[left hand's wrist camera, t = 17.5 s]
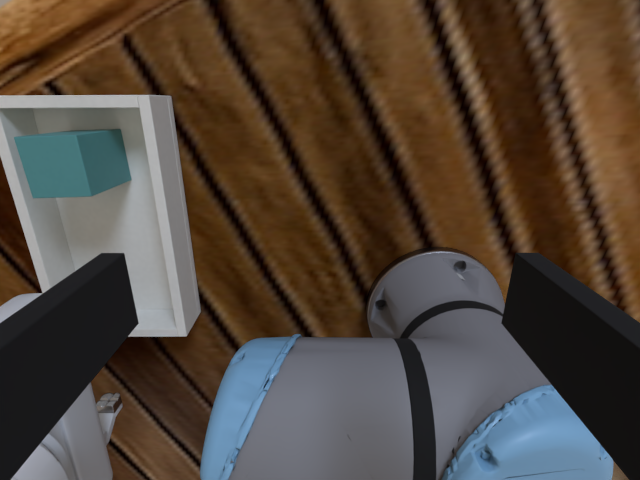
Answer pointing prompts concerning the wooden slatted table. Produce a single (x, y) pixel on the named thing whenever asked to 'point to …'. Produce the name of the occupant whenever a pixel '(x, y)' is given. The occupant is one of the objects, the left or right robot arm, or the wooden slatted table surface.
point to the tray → (112, 204)
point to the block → (73, 162)
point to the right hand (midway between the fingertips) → (106, 359)
